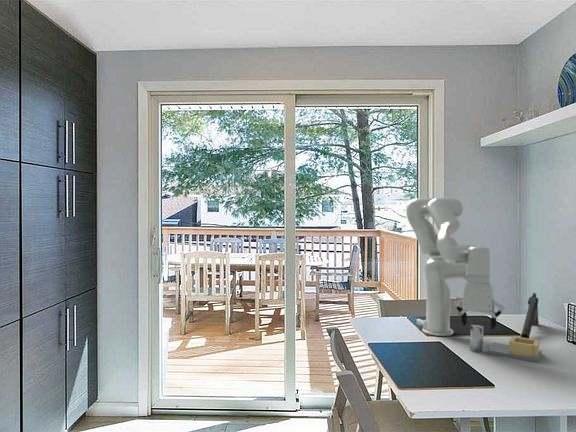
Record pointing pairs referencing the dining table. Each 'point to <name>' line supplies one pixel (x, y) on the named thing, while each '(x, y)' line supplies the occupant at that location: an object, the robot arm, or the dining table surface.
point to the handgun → (531, 316)
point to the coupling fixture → (518, 349)
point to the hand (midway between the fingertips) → (478, 326)
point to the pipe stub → (476, 338)
